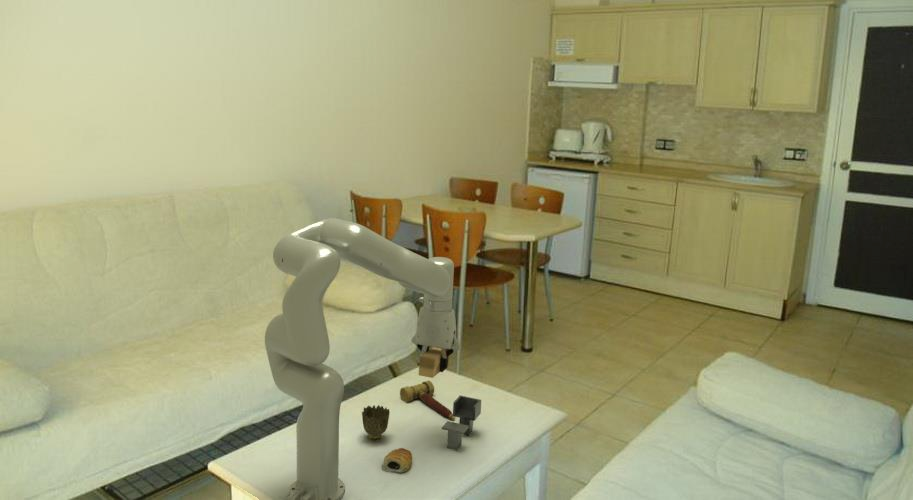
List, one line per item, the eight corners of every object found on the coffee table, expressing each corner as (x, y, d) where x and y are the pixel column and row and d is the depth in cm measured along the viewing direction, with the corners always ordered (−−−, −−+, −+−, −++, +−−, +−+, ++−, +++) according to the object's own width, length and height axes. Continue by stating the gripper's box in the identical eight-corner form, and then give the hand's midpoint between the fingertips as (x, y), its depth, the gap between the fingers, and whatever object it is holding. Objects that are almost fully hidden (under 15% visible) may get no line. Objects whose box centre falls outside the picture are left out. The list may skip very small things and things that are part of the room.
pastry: (393, 453, 186) (393, 439, 185) (417, 457, 185) (418, 444, 184) (380, 471, 177) (380, 457, 176) (406, 476, 176) (406, 462, 175)
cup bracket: (473, 439, 195) (475, 407, 193) (451, 434, 197) (453, 402, 195) (479, 431, 200) (481, 399, 197) (458, 426, 202) (459, 395, 200)
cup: (384, 446, 189) (384, 418, 187) (357, 442, 190) (358, 415, 188) (392, 433, 196) (393, 406, 194) (366, 429, 197) (367, 403, 195)
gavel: (468, 407, 207) (441, 416, 201) (467, 421, 208) (439, 430, 202) (426, 378, 223) (399, 385, 216) (425, 391, 224) (398, 398, 218)
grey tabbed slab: (461, 452, 187) (463, 432, 186) (440, 447, 189) (441, 427, 188) (467, 446, 191) (468, 425, 190) (446, 441, 193) (447, 420, 192)
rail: (432, 378, 185) (433, 359, 185) (418, 375, 187) (419, 356, 186) (448, 364, 197) (449, 347, 196) (435, 362, 198) (436, 344, 197)
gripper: (403, 303, 187) (400, 368, 192) (463, 313, 182) (459, 379, 186) (414, 295, 194) (411, 358, 198) (472, 305, 189) (468, 369, 193)
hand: (434, 368), depth 192 cm, fingers closed on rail, 4 cm apart
